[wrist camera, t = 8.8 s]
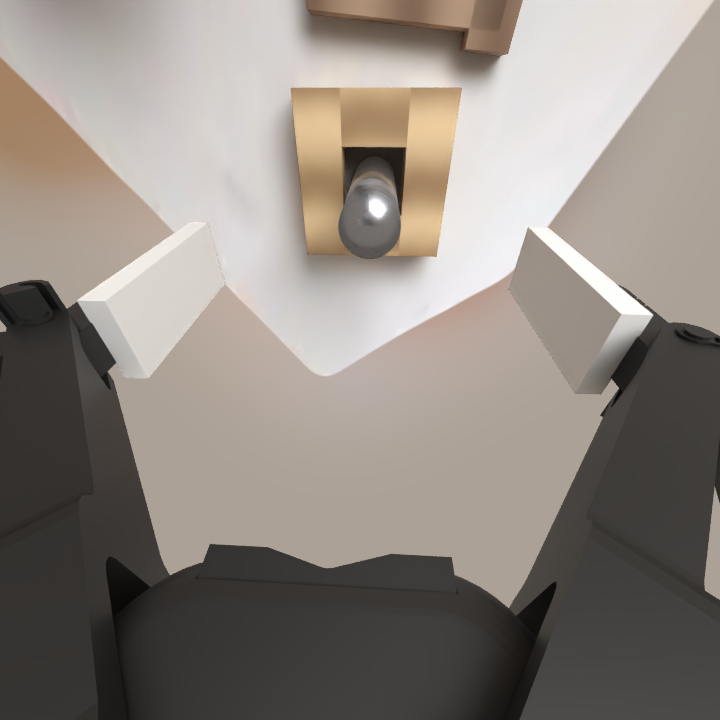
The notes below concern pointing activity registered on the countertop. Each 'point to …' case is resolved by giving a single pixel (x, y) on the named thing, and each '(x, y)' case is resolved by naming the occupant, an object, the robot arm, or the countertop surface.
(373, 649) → the robot arm
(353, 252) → the pin
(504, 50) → the bar
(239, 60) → the countertop surface
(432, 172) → the socket block
